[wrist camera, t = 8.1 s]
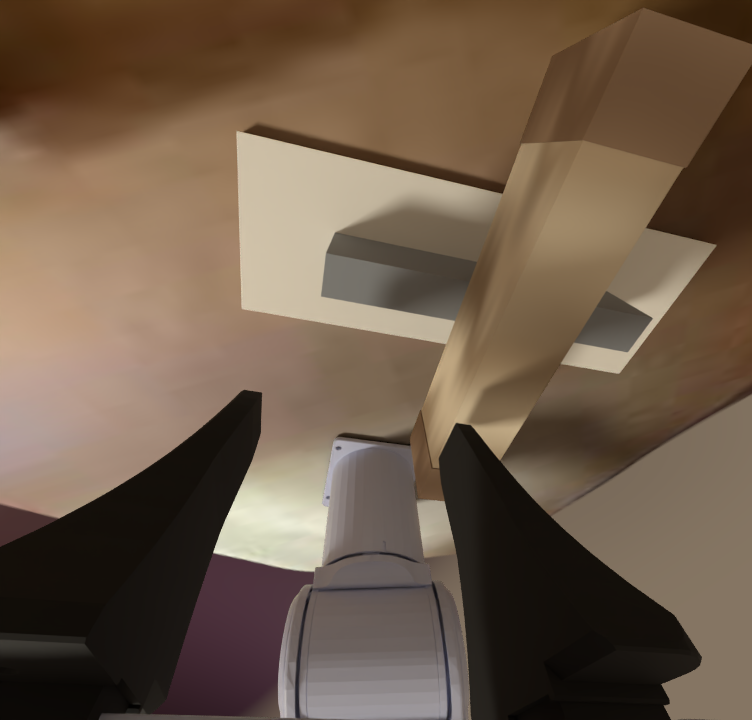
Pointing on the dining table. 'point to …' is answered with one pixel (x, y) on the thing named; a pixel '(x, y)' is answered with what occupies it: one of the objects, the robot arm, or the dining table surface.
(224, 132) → the dining table surface
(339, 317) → the ridge stand
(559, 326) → the shiny metallic bar
